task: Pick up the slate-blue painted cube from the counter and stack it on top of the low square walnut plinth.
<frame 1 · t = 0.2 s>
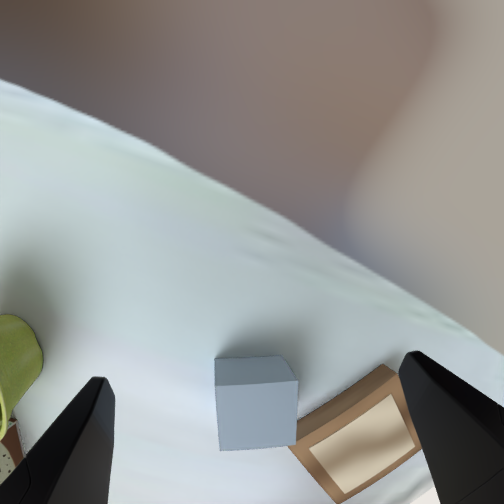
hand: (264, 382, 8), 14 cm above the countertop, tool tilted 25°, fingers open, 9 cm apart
block: (249, 386, 23), on the countertop
base: (355, 434, 24), on the countertop
plant pot: (17, 348, 21), on the countertop
food container: (3, 444, 20), on the countertop
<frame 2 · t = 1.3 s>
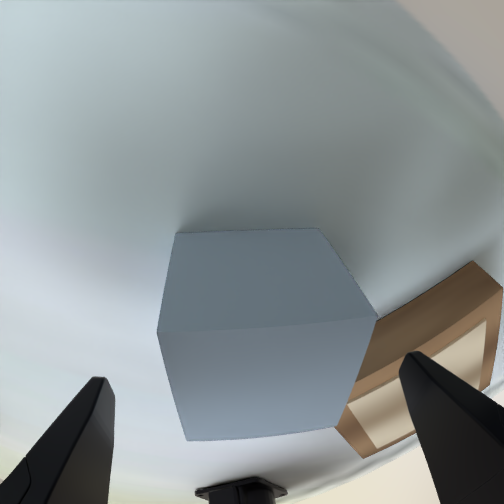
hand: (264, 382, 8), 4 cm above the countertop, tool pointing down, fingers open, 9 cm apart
block: (247, 288, 12), on the countertop
base: (407, 364, 16), on the countertop
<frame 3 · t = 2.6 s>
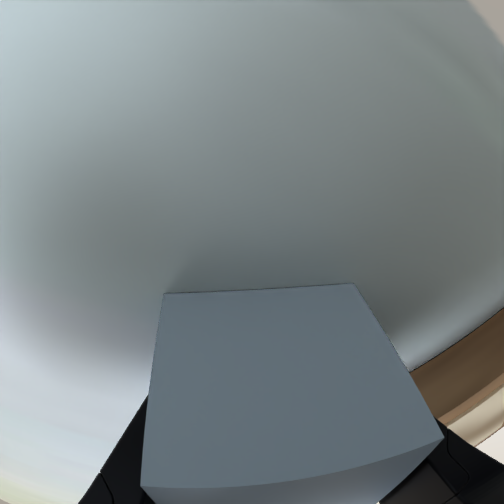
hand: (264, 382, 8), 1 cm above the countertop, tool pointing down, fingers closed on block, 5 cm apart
block: (259, 356, 9), on the countertop, touching gripper
base: (431, 408, 13), on the countertop
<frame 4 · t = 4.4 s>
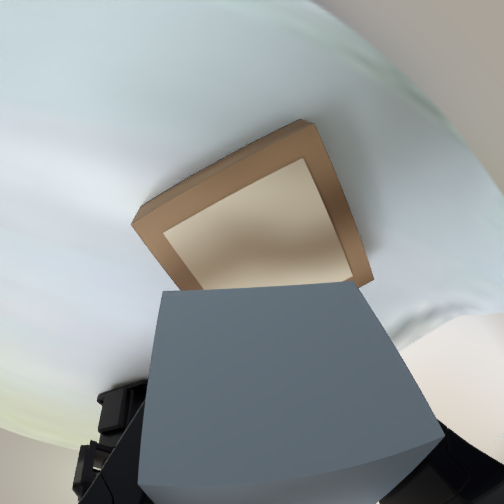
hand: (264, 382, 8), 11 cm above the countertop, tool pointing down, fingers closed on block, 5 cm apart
block: (258, 355, 9), point 10 cm above the countertop, touching gripper
base: (259, 234, 19), on the countertop
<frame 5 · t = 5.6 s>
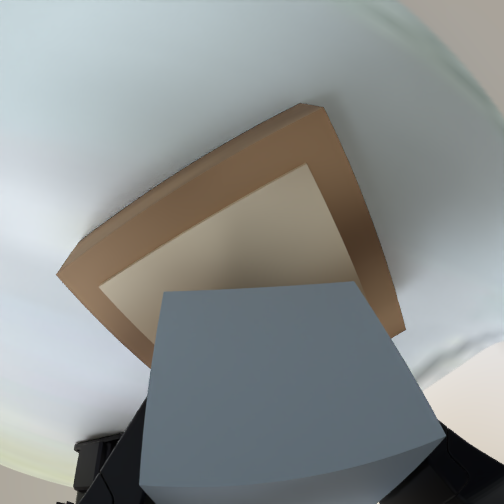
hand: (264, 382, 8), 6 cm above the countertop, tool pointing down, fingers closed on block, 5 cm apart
block: (259, 355, 9), point 5 cm above the countertop, touching gripper
base: (245, 274, 13), on the countertop
when the fingers open (5 cm above the countertop, at t = 6.5 s): block drops 1 cm, resting on base.
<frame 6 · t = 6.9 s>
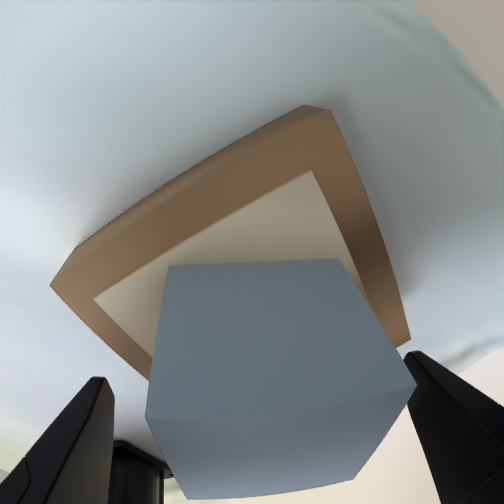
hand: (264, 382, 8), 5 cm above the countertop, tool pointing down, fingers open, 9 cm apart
block: (254, 327, 10), point 3 cm above the countertop, touching base
base: (246, 283, 13), on the countertop
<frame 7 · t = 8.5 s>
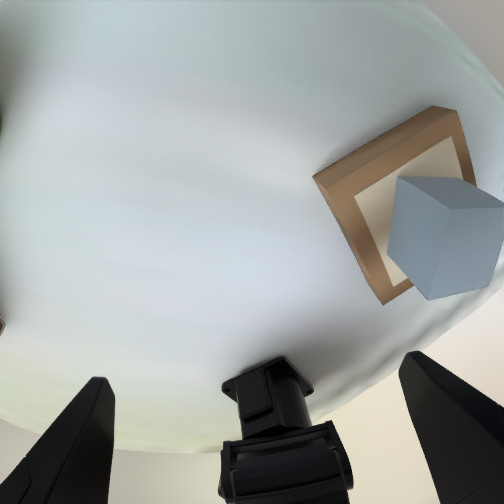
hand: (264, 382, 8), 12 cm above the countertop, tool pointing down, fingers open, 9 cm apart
block: (424, 214, 18), point 3 cm above the countertop, touching base
base: (403, 200, 20), on the countertop
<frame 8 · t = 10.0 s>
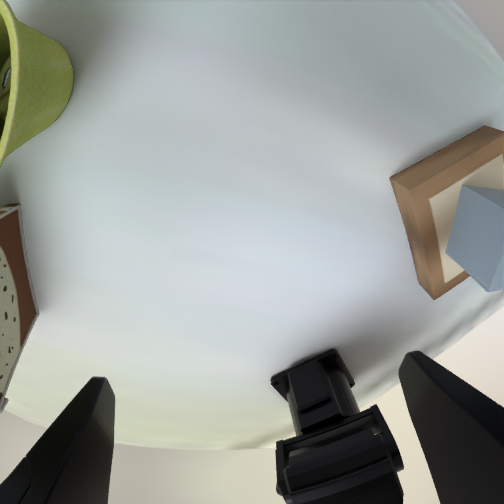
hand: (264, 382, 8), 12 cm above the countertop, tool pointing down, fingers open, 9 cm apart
block: (476, 220, 19), point 3 cm above the countertop, touching base
base: (455, 206, 21), on the countertop
plant pot: (34, 86, 14), on the countertop
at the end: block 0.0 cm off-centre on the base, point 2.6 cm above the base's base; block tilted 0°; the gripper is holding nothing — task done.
